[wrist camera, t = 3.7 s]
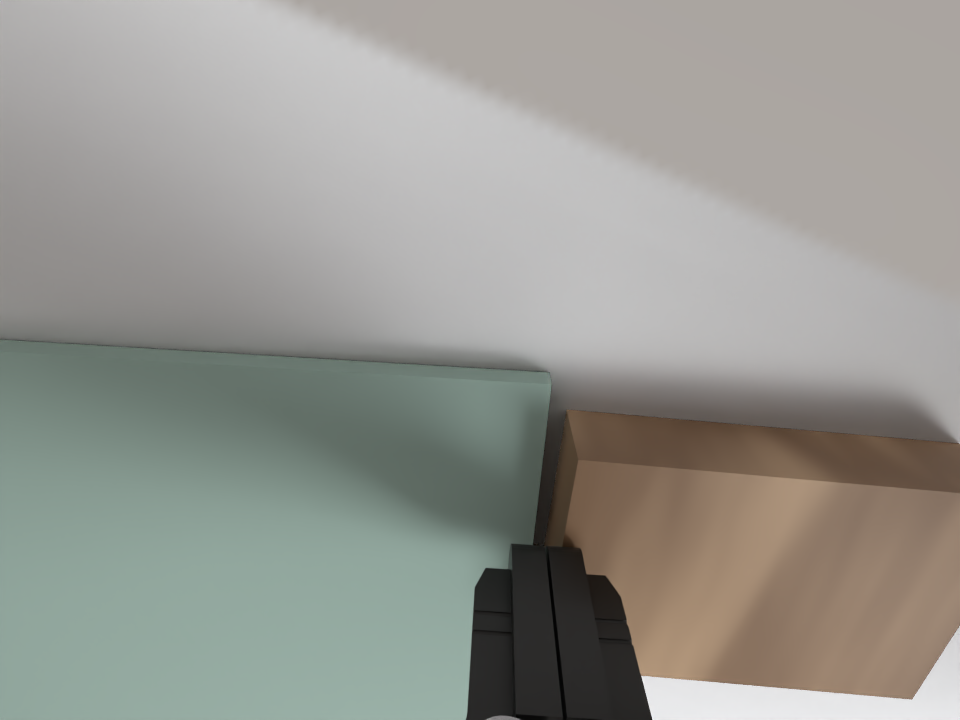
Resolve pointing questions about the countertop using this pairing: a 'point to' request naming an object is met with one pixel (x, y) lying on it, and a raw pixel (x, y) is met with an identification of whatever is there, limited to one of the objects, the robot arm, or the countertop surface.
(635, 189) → the countertop surface
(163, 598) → the mat
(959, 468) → the slab
